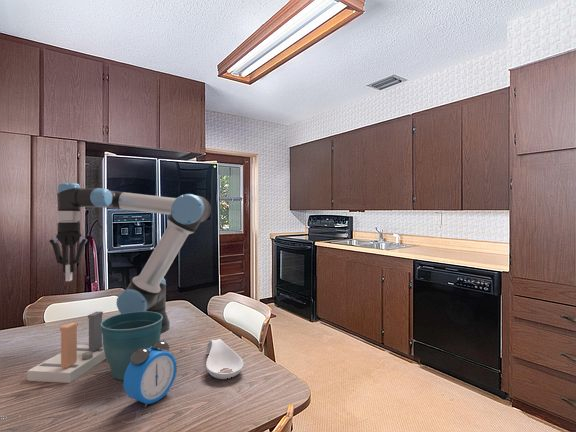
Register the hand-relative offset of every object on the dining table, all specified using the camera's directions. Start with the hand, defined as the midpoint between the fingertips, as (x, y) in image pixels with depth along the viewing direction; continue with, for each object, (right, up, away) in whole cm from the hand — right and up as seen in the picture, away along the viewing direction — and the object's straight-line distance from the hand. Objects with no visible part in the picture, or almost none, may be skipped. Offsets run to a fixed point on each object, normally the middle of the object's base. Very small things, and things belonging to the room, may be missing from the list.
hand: (69, 280), depth 129 cm
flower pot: (+38, -25, -25) cm, 52 cm away
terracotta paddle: (+19, -21, -28) cm, 40 cm away
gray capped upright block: (+20, -21, -16) cm, 33 cm away
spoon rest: (+65, -25, -21) cm, 73 cm away
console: (+16, -24, -22) cm, 36 cm away
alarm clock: (+50, -25, -40) cm, 69 cm away
